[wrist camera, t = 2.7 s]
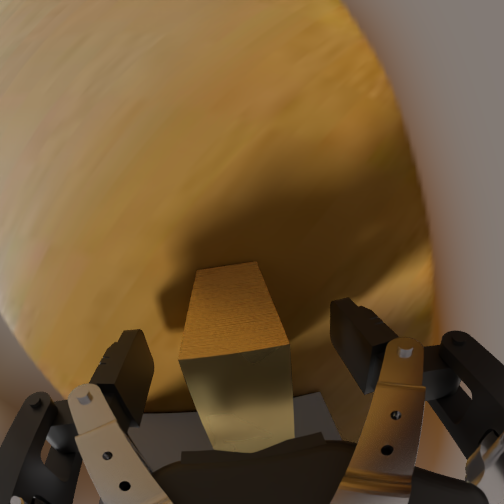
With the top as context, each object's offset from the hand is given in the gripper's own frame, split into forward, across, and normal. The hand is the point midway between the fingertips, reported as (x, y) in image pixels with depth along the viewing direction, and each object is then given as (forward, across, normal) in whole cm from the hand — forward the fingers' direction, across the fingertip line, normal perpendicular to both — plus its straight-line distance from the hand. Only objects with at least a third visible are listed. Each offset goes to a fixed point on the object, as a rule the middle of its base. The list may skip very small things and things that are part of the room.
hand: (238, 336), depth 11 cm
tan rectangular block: (-2, 0, 0) cm, 2 cm away
